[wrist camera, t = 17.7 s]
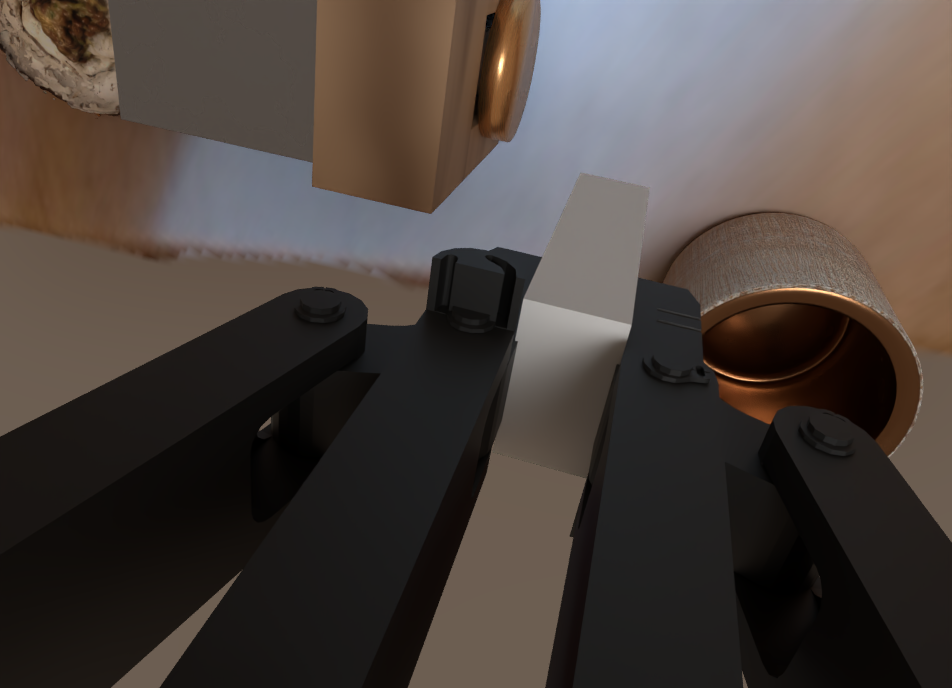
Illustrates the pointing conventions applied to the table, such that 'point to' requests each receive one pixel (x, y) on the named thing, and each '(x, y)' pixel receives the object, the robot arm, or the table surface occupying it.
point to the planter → (800, 324)
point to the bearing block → (220, 69)
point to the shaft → (507, 67)
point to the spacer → (398, 98)
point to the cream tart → (63, 50)
